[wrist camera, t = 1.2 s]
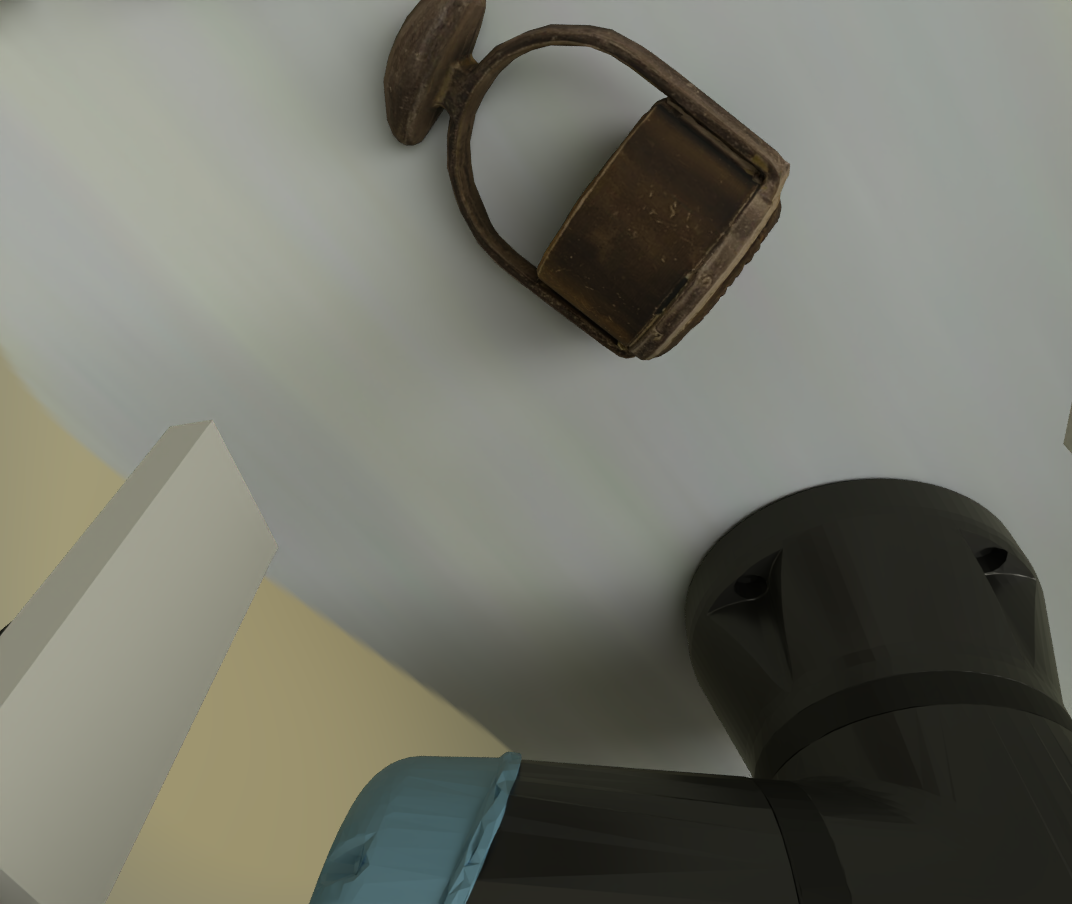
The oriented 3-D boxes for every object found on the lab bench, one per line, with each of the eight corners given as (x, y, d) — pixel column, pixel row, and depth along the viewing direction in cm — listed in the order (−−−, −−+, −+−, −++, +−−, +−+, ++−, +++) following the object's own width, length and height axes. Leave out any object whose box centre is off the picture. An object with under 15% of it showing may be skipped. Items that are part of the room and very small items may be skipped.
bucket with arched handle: (565, 460, 26) (859, 339, 21) (269, 159, 20) (580, -127, 15) (590, 330, 31) (834, 205, 26) (358, 55, 25) (617, -188, 20)
